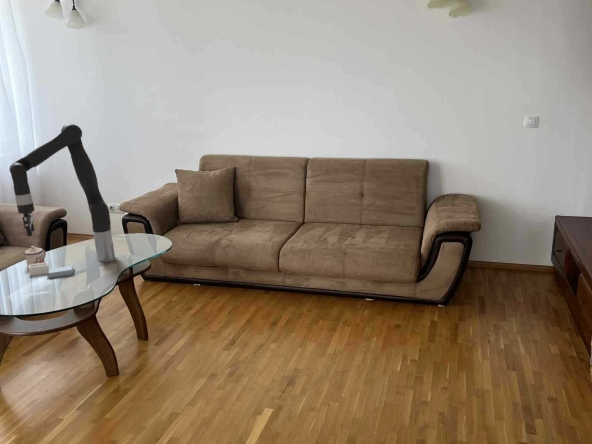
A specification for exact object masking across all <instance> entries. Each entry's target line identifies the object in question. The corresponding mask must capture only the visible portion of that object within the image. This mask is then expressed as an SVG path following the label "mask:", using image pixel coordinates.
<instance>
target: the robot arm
mask: <svg viewBox="0 0 592 444" xmlns="http://www.w3.org/2000/svg"><path fill="white" fill-rule="evenodd" d="M82 137H83V130H82V129H81V128H80V126H79V125H76V124H74V123H66V124H64V125H63V126H62V128H61V130H60V133H59V134H58V135H57V136H56V137H54V138H53V139H50V140H49V141H48V142H45V143H43V144H42V145H40V146H38V147H36V148H35V149H34V150H32V151H30V152H29V153H28V154H27V155H25V156H23V157H21V158H20V159H17V160H16V161H14V162H13V163H12V164H11V165H10V166H9V169H8V170H9V172H10V176H11V179H12V184H13V191H14V192H13V193H14V197H15V198H14V199H15V202H16V203H15V204H16V208H17V212H18V214H22V215H23V216H22V222H23V226H24V230H25V231H26V235H27V237H32V236H33V232H34V231H35V229H36V228H35V226H34V225H35V224H34V223H35V222H34V221H35V219H34V216H33V212H34V211H35V206H34V204H35V203H34V200H33V196H32V193H31V188H30V184H29V179H28V171H30V170H31V169H33V168H36V167H38V166H40V165H41V164H42V163H44V162H45V161H47V160H48V159H49V158H51V157H52V156H54V155H56V153H58V152H59V151H61V150H63V149H65V148H66V147H67V149H68V152H69V154H70V158H71V162H72V166H73V168H74V171H75V174H76V177H77V179H78V182H79V185H80V187H81V188H82V190H83V192H84V195H85V197H86V198H85V199H86V200H87V206H88V210H89V213H90V217H91V224H92V231H93V232H92V233H93V239H94V246H95V252H96V259H97V261H98V262H103V263H110V262H113V260H114V261H116V255H115V254H116V253H115V248H114V247H115V246H114V241H113V235H112V234H113V233H112V227H111V223H112V221H111V216H110V210H109V207H108V205H107V203H106V202H105V201H104V198H103V197H102V194H101V191H100V189H99V183H98V177H97V173H96V171H95V169H94V166H93V165H94V164H93V163H92V160H91V158H90V156H89V155H88V154H87V151H86V150H85V147H84V145H83V140H82Z"/></svg>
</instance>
